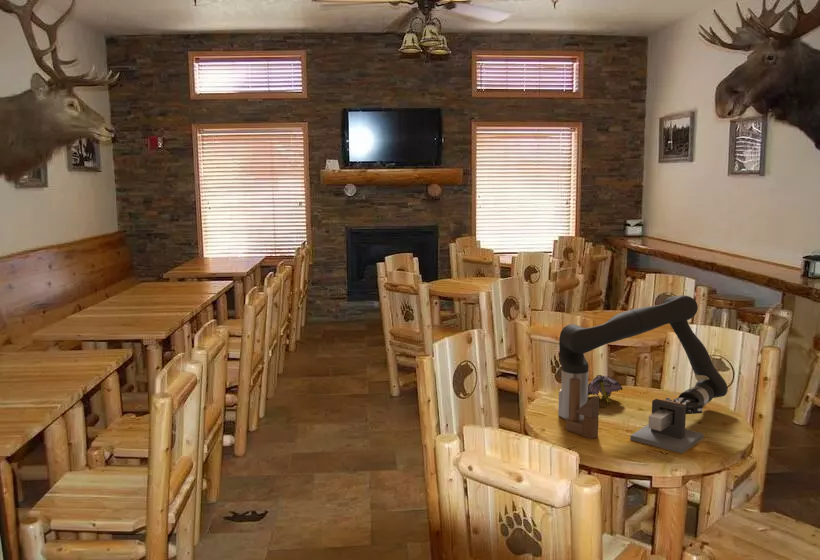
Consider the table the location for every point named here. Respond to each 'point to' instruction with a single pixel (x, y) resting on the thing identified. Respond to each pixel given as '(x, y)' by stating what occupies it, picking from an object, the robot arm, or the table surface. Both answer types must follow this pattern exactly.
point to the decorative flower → (603, 386)
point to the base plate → (667, 439)
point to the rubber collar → (679, 418)
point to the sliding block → (662, 418)
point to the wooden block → (582, 412)
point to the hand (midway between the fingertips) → (673, 412)
